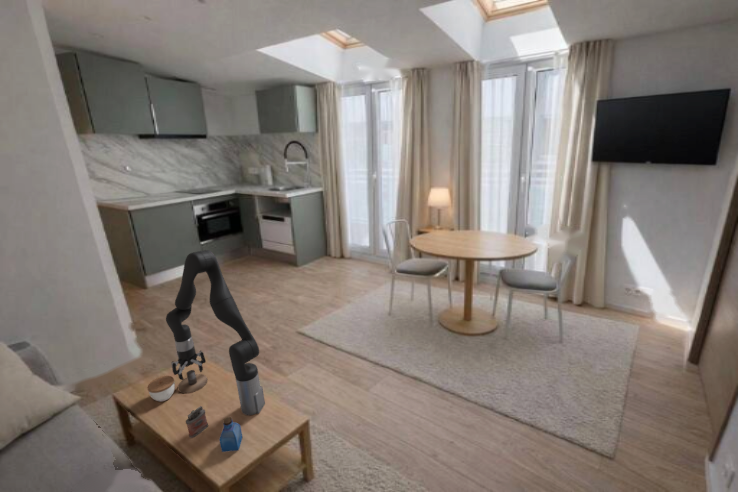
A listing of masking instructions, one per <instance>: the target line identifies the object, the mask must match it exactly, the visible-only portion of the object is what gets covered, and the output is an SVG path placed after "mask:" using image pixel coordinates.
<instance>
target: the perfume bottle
mask: <svg viewBox="0 0 738 492" xmlns="http://www.w3.org/2000/svg"><path fill="white" fill-rule="evenodd" d="M222 422H223V428H222V431H221V433H220V436H219V438H218V440H219V445H220V449H221V452H222V453H227V452H236V451H239V450H240V447H241V444H242V440H243V432H242V427H241V424H239V423H237V422H235V421H233V417H232V416H227V417H225V418H224V419H223V420H222Z"/></svg>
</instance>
